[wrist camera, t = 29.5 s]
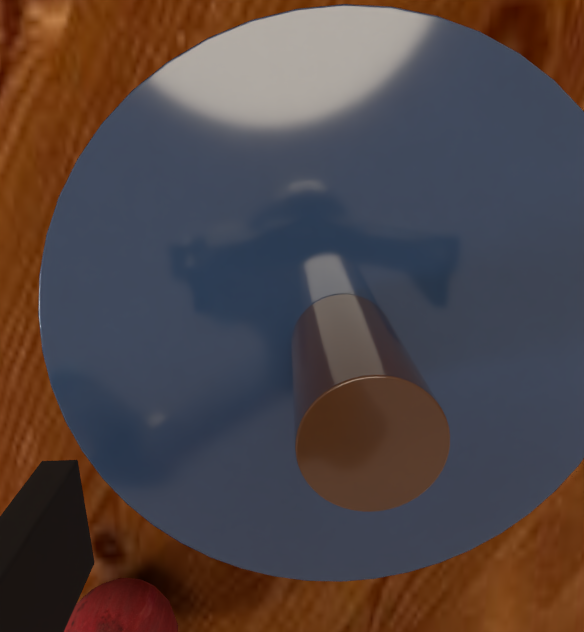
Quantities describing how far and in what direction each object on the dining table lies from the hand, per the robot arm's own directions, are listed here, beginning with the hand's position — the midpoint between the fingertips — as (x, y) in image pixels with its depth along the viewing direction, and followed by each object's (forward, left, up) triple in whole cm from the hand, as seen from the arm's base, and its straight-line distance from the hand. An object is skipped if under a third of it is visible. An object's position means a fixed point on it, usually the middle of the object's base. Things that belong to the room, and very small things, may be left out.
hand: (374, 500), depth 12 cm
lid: (0, 0, -10) cm, 10 cm away
